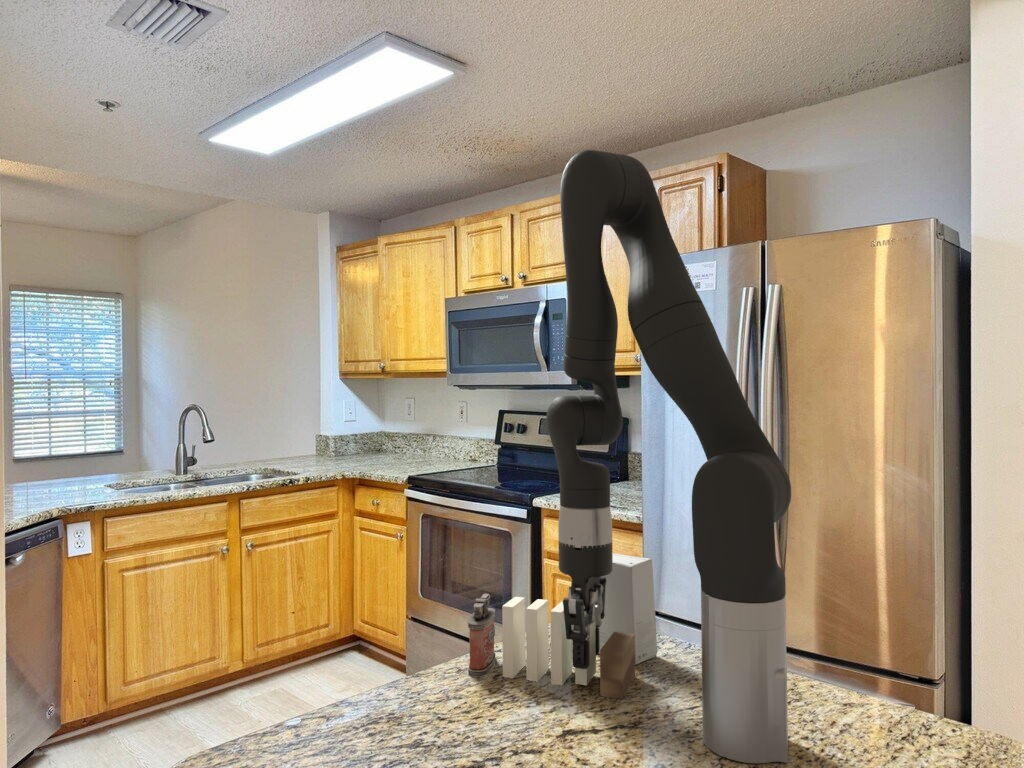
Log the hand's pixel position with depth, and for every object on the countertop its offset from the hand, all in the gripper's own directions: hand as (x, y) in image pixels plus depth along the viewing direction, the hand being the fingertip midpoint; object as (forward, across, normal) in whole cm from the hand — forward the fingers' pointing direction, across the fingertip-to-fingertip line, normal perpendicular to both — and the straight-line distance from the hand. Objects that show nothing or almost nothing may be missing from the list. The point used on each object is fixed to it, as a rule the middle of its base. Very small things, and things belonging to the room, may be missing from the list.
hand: (586, 659), depth 99 cm
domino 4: (+2, 0, 0) cm, 2 cm away
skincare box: (+3, -12, +3) cm, 13 cm away
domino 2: (+3, 0, -7) cm, 8 cm away
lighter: (+3, 0, -16) cm, 16 cm away
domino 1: (+3, 0, -11) cm, 11 cm away
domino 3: (+3, 0, -4) cm, 5 cm away
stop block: (+3, 0, +4) cm, 5 cm away
